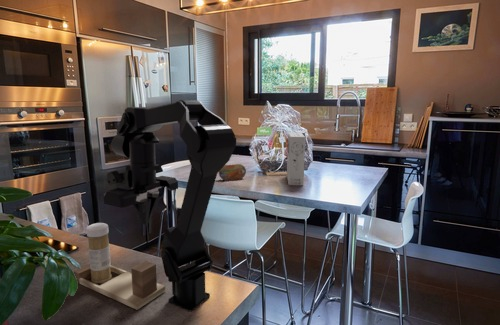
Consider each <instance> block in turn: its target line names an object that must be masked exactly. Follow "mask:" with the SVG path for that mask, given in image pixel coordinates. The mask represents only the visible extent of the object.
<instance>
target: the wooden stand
mask: <svg viewBox="0 0 500 325" xmlns="http://www.w3.org/2000/svg"><path fill="white" fill-rule="evenodd" d="M80 268H81V269H80ZM80 268H78V269H76V270H73V275H74V274H75V276H76V278H77V281H78V283H77V284H80V285H82V286H84V287H86V288H88V289H89V290H90V289H91V290H92V291H95V292H97V293H100V294H102V295H104V296H106V297H108V298H110V299H113V300H115V301H117V302H119V303H121V304H123V305H126V306H128V307H130V308H132V309H135V310H136V311H138V310H139V309H141V308H143V306H145V305H147V304H149V303H150V302H151V301H153V300H154V299H156V298H157V297H159V296H161V295H162V294H163V293H165V292H166V285H164V284H161V283H158V282H157V281H158V280H157V264H156V263H154V262H152V261H148V260H144V261H143V262H141V263H139V264H137V265H135V266H132V267H131V268H130V269H131V272H130V271H127V270H125V269H123V268H119V267H116V266H114V265H110V268H111V273H112V272H113V273H115V274H117V276H115V277H113V278H111V279H110V280H108V281H107V282H104V283H101V284H100V285H99V284H97V283H93V282H92V281H90V280H91V268H90V263H89V264H87V265H84V266H83V267H80Z"/></svg>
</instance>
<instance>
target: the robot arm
mask: <svg viewBox="0 0 500 325" xmlns="http://www.w3.org/2000/svg"><path fill="white" fill-rule="evenodd" d="M192 122H196V123H198V125H195V126H194V125H193V124H192ZM177 123H178V124H179V137H180V138H181V139H182V141H183V143H184V144H185V145H186V150H185V152H186V156H187V158H188V161H189V164H190V172H189V176H188V179H187V183H186V188H185V191H184V196H183V199H182V203H181V208H180V212H179V216H178V220H177V224H176V225H175V226H171V227H168V228H166V229H165V231H164V232H163V239H162V241H161V245H162V248H161V251H160V252H161V253H160V257H161V260H162V265H163V269H164V273H165V277H167V278H168V279H167V281H168V282H170V283H171V288H172V289H171V290H172V296H171V297H169V298H168V300H167V301H168V303H169V304H172V305H175V306H177V307H179V308H181V309H184V310H187V311H189V312H193V311H194V310H196V308H198V307H199V306H200V305H201V304H203V303H205V301H207V300H208V299H209V298H210V297H211V294H210V293H209V292H206V273H205V272H208V271H210V270H212V267H213V263H214V262H213V260H212V257H211V255H210V254H209V252H208V250H207V248H206V247H205V243H206V242H205V240H206V239H205V238H204V236H203V233H202V227H203V224H204V220H205V217H206V213H207V211H208V207H209V204H210V201H211V196H212V194H213V190H214V186H215V183H216V179H217V176H218V174H219V171H220V170H221V169H222V168H223V167H224V165H227V163H228V162H230V159H231V158H232V155H233V153H234V151H235V150H236V145H237V137H236V134H235V133H234V131H233V129H232V127H230V125H228V124H227V122H225V120H224V119H223V118H221V117H220V116H219V115H217V114H215V113H214V112H212V111H211V110H209V109H208V108H207V107H206V106H205V104H204V103H203V102H202V101H199V100H197V99H196V100H195V99H192V100H191V99H180V100H178V101H176V102H172V103H167V104H163V105H160V106H128V107H126V108H125V109H124V112H123V113H122V115H121V118H120V121H119V123H118V125H117V127H116V135H115V136H114V137H113V138H112V141H111V142H110V147H111V150H112V152H113V153H115V154H116V155H117V156H118V155H119V156H121V157H124V158H127V159H129V164H128V165H126V166H125V171H124V172H120V173H119V171H118V170H113V171H109V172H107V173H106V181H107V183H108V185H109V186H110V187H112V186H114V189H110V190H107V191H105V193H104V194H103V204H105V205H108V206H110V207H111V206H112V207H116V208H126V207H129V206H133V208H135V210H136V213H137V215H138V217H139V218H140V221H141V224H142V225H145V226H146V225H148V224H149V223H150V222H151V221H150V220H151V218H152V216H153V214H154V211H155V210H156V209H157V206H158V204H159V203H160V200H161V199H163V197H164V194H162V193H160V191H159V190H160V189H163V188H167V189H168V191H170V192H171V191H175V190H178V189H179V181H178V180H177V178H176V177H172V176H168V175H166V176H165V175H160V176H157V172H156V171H157V170H160V168H161V167H160V164H156V144H160V140H159V139H158V137H157V136H156V135H155V134H154V132H156V131H158V130H160V129H162V128H163V126H164V125H165V126H166V125H170V124H177ZM120 187H121V188H120ZM122 187H124V188H122ZM126 188H129V189H126ZM130 188H131V189H130Z"/></svg>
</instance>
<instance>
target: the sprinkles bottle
mask: <svg viewBox="0 0 500 325" xmlns="http://www.w3.org/2000/svg"><path fill="white" fill-rule="evenodd" d="M86 236H87V239H88V240H87V242H88V255H89V256H88V257H89V264H90V268H91V278H90V282H92V283H94V284H96V285H99V284H104V283H106V282H108V281H109V280H111V279H112V271H111V268H110V265H111V251H110V250H111V249H110V243H109V225H108V224H107V223H104V222H96V223H92V224H89V225H88V226H87V227H86Z"/></svg>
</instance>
